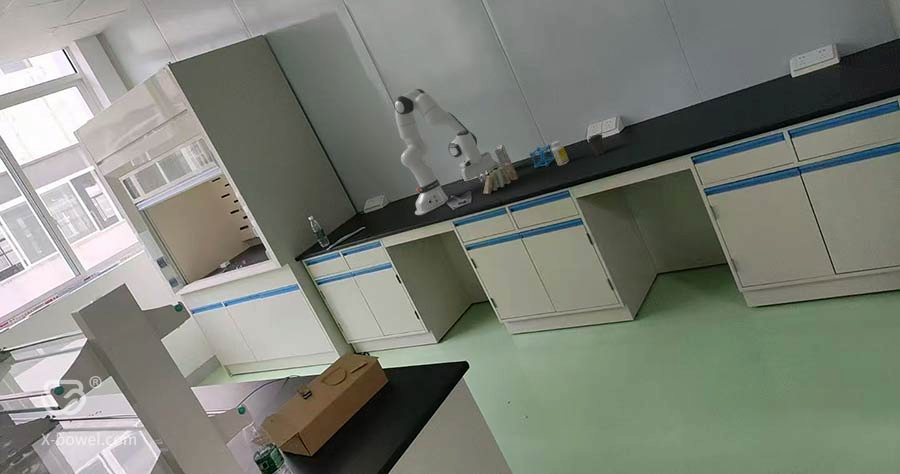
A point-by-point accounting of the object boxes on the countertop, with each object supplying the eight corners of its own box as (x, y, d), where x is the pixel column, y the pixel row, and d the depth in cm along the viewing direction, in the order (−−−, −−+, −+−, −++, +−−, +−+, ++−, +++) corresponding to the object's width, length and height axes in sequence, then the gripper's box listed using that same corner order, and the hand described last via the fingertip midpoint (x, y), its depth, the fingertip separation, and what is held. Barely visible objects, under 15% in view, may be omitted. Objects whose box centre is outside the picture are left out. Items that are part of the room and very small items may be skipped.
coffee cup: (609, 151, 336) (603, 134, 333) (595, 157, 337) (588, 140, 334) (606, 148, 344) (599, 131, 341) (592, 155, 345) (585, 138, 342)
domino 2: (494, 190, 361) (493, 172, 360) (490, 190, 366) (489, 172, 365) (497, 190, 362) (496, 172, 361) (493, 189, 367) (492, 172, 365)
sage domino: (501, 187, 363) (496, 170, 361) (497, 187, 368) (492, 170, 365) (504, 186, 364) (499, 169, 361) (500, 185, 368) (495, 169, 366)
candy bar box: (506, 170, 396) (496, 146, 392) (513, 167, 395) (503, 143, 390) (504, 175, 386) (494, 151, 382) (512, 172, 385) (502, 147, 380)
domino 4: (515, 179, 366) (508, 164, 363) (511, 179, 371) (504, 164, 368) (518, 178, 367) (511, 162, 364) (513, 178, 371) (507, 162, 368)
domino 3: (508, 183, 365) (501, 168, 362) (504, 183, 369) (497, 168, 366) (511, 182, 365) (504, 166, 362) (507, 182, 370) (500, 166, 367)
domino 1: (487, 193, 360) (490, 176, 360) (483, 193, 364) (486, 175, 364) (490, 194, 361) (493, 176, 360) (486, 193, 365) (489, 176, 365)
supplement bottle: (570, 159, 354) (562, 138, 351) (566, 164, 349) (558, 142, 346) (560, 162, 358) (551, 141, 355) (556, 167, 353) (547, 146, 350)
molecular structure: (557, 159, 369) (550, 143, 366) (548, 166, 362) (541, 150, 360) (543, 162, 376) (537, 146, 373) (534, 169, 370) (528, 153, 367)
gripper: (486, 150, 363) (495, 172, 367) (456, 166, 357) (466, 188, 361) (491, 150, 357) (500, 172, 361) (461, 166, 351) (471, 189, 355)
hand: (483, 180), depth 361 cm, fingers closed
